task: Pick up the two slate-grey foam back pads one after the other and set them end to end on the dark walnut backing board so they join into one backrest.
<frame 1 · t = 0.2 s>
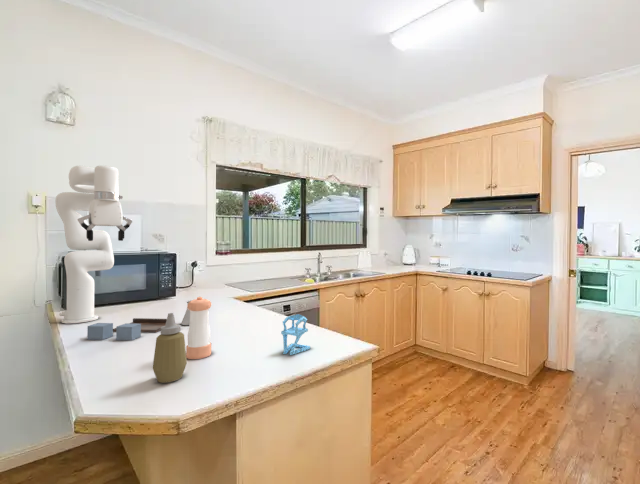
hand: (106, 240, 133), 37 cm above the countertop, tool pointing down, fingers open, 9 cm apart
flask: (190, 324, 149), on the countertop
pepper shaker: (198, 355, 110), on the countertop
squeeze bottle: (169, 379, 92), on the countertop
chair: (294, 351, 116), on the countertop
pad b: (128, 338, 127), on the countertop
backing board: (144, 327, 142), on the countertop
pad a: (100, 337, 128), on the countertop
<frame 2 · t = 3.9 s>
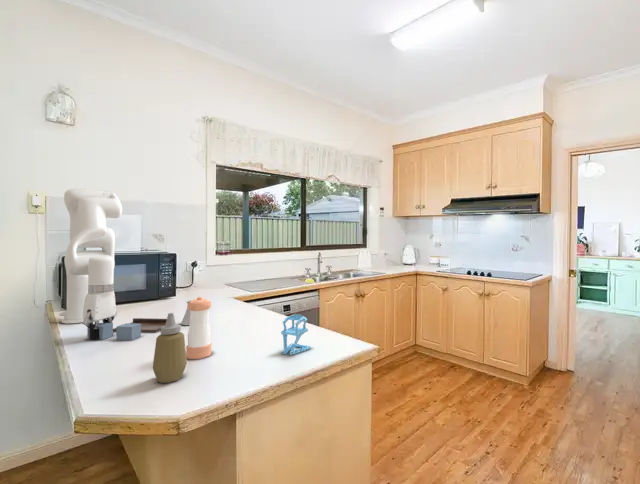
hand: (100, 336, 128), 0 cm above the countertop, tool pointing down, fingers closed on pad a, 4 cm apart
pad a: (100, 337, 128), on the countertop, touching gripper
everything else where it was.
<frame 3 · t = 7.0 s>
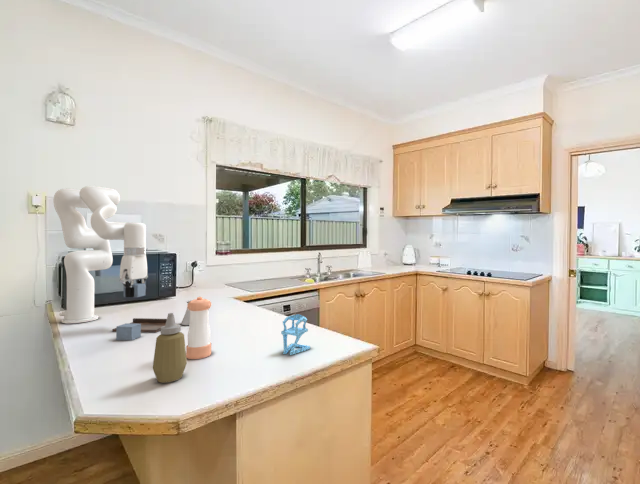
hand: (134, 295, 140), 14 cm above the countertop, tool pointing down, fingers closed on pad a, 4 cm apart
pad a: (134, 296, 140), point 14 cm above the countertop, touching gripper
everything else where it was.
when the fingers open (1 cm above the countertop, at t = 10.2 s): pad a stays where it is, resting on backing board.
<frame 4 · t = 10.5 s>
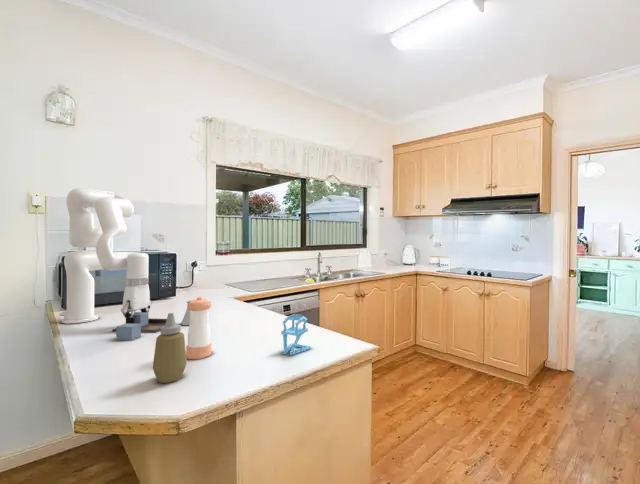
hand: (137, 324, 142), 2 cm above the countertop, tool pointing down, fingers open, 7 cm apart
pad a: (137, 325, 142), point 1 cm above the countertop, touching backing board
everything else where it was.
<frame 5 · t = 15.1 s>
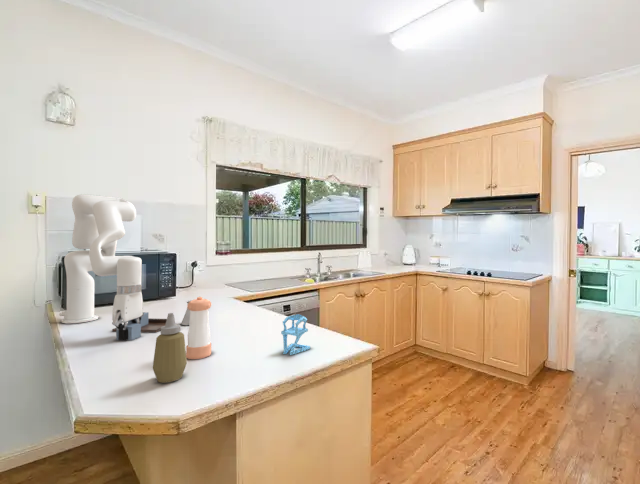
hand: (128, 337, 127), 0 cm above the countertop, tool pointing down, fingers closed on pad b, 4 cm apart
pad b: (128, 338, 127), on the countertop, touching gripper
everything else where it was.
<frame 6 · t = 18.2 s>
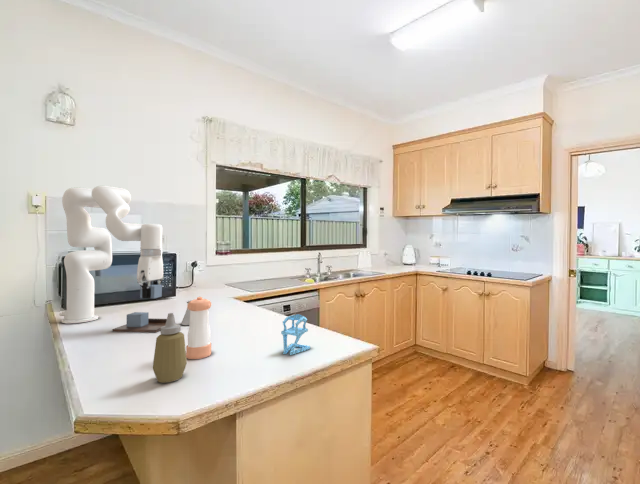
hand: (151, 296, 140), 13 cm above the countertop, tool pointing down, fingers closed on pad b, 4 cm apart
pad b: (151, 297, 140), point 13 cm above the countertop, touching gripper
everything else where it was.
when the fingers open (1 cm above the countertop, at t = 21.3 s): pad b stays where it is, resting on backing board.
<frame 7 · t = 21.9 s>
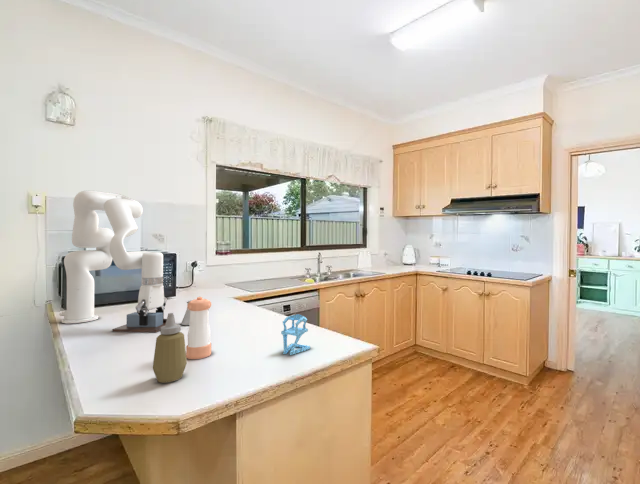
hand: (151, 322, 141), 2 cm above the countertop, tool pointing down, fingers open, 9 cm apart
pad b: (152, 325, 141), point 1 cm above the countertop, touching backing board
everything else where it was.
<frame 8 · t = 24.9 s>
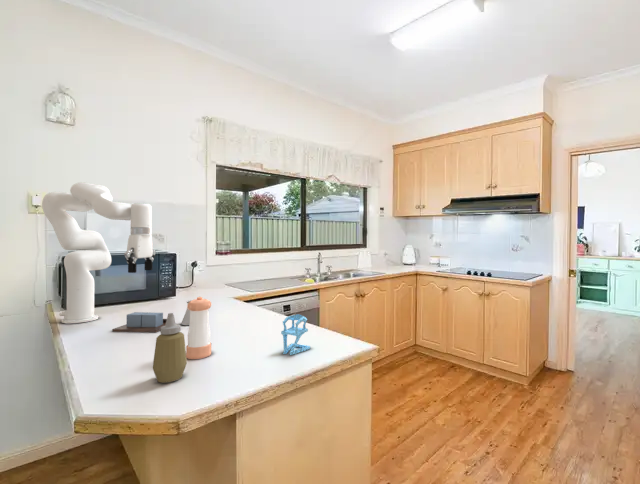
hand: (140, 271, 146), 23 cm above the countertop, tool pointing down, fingers open, 9 cm apart
nothing on the countertop moved.
at the end: pad a inside the target area on the backing board (3.0 cm from its centre), point 1.0 cm above the backing board's base; pad b inside the target area on the backing board (3.3 cm from its centre), point 1.0 cm above the backing board's base; pad b 6.4 cm from the pad a (horizontally) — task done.
